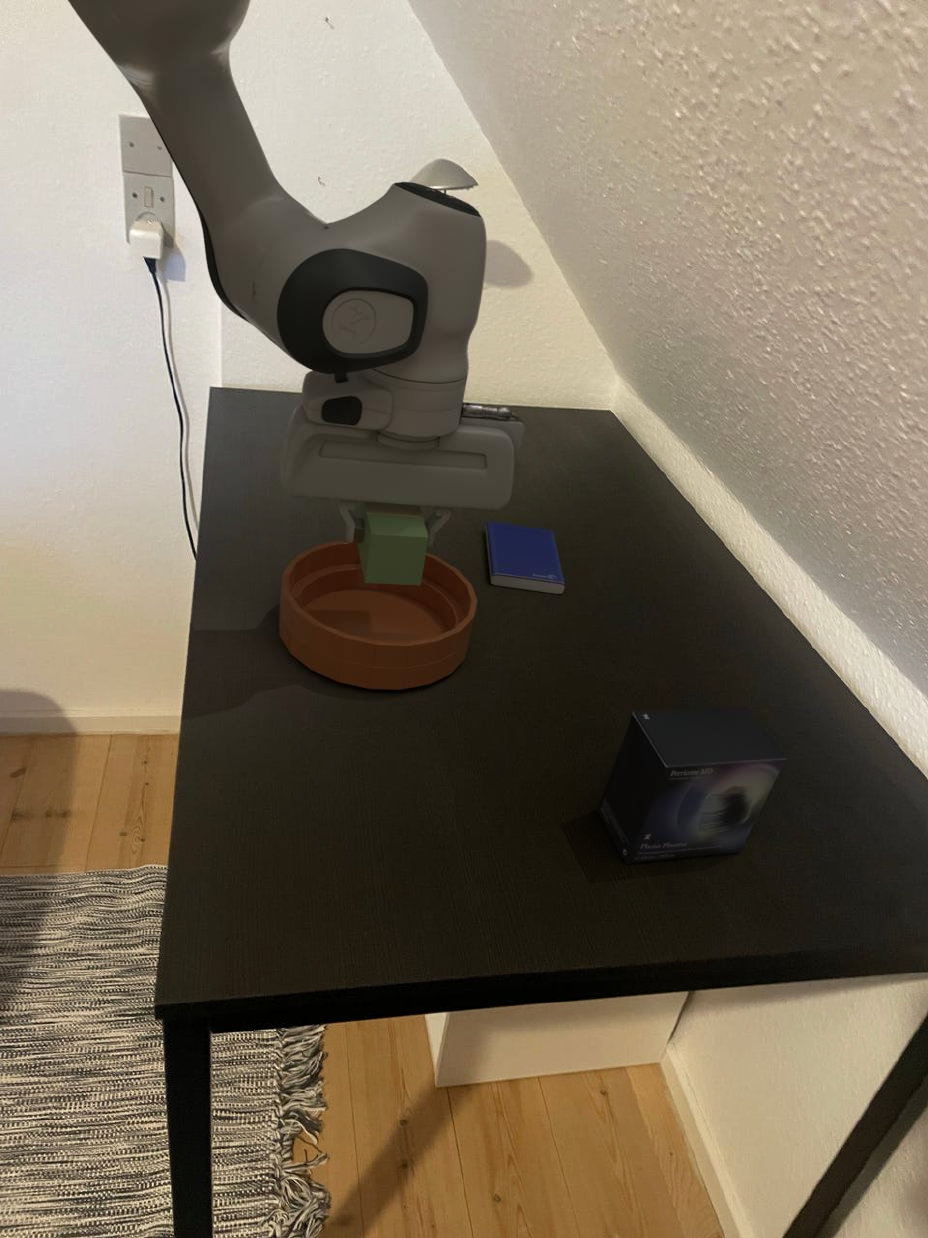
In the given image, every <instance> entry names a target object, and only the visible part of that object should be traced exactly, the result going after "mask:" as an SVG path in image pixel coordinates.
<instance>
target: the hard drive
mask: <svg viewBox="0 0 928 1238" xmlns="http://www.w3.org/2000/svg"><path fill="white" fill-rule="evenodd" d="M485 539H486V549H487V559H488V569H489V578H490V584H491V585H493V586H498V587H505V588H511V589H512V588H513V589H519V590H527V591H534V592H541V593H548V594H555V595H561V594H564V591H565V587H566V581H565V579H564V578H565V577H564V574H563V569H562V564H561V561H560V556H559V552H558V547H557V543H556V540H555V533H554V531H552V530H550V529H545V528H538V527H533V526H532V527H531V526H525V525H519V524H511V523H504V522H497V521H487V522H486V526H485Z"/></svg>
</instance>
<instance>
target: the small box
mask: <svg viewBox="0 0 928 1238" xmlns="http://www.w3.org/2000/svg"><path fill="white" fill-rule="evenodd" d="M786 761H787V757H786V755H785V754H784V752H783V751H782V750H781V748H780V747H779V745H778V744H777V743H776V742H775V740H774V739H773V738H772V737H771V735H770V734H769V733H768V732H767V730H766V729H765V728H764V726H763V725H762V723H760V721H759V719H757V717H756V716H755V715H754V713H753V712H752V711H751V709H750V708H749V707H748V706H747V705H744V706H729V707H728V706H725V707H724V706H723V707H704V708H703V707H702V708H682V709H661V710H660V709H657V710H635V711H632V712H631V714H630V718H629V722H628V725H627V728H626V731H625V733H624V736H623V738H622V741H621V743H620V747H619V750H618V752H617V755H616V757H615V760H614V763H613V766H612V768H611V771H610V773H609V776H608V779H607V782H606V785H605V788H604V790H603V792H602V793H601V794H602V795H601V797H600V800H598V801H599V802H598V804H597V806H596V808H595V809H596V810H597V813H598V815H599V816H600V818H601V819H602V822H603V823H604V824H605V827H606V829H607V830H608V833H609V835H610V836H611V838H612V840H613V842H614V844H615V848H616V849H617V851H618V852H619V854H620V856H621V858H622V860H623V861H624V863H625V864H628V865H631V864H641V863H651V862H660V861H669V860H671V861H672V860H681V859H690V858H700V857H701V858H702V857H710V856H711V857H712V856H720V855H721V856H722V855H731V854H740V853H741V851H742V849H743V847H744V845H745V843H746V842H747V839H748V837H749V835H750V833H751V831H752V829H753V827H754V825H755V823H756V820H757V818H758V817H759V814H760V813H761V811H762V808H763V807H764V804H765V803H766V800H767V799H768V796H769V794H770V792H771V791H772V789H773V787H774V785H775V784H776V783H775V782H776V780H777V778H778V777H779V775H780V772H781V771H782V768H783V767H784V765H785V762H786Z"/></svg>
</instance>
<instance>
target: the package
mask: <svg viewBox="0 0 928 1238" xmlns="http://www.w3.org/2000/svg"><path fill="white" fill-rule="evenodd" d="M356 518H361V519H363V521H364V526H365V532H364V536H363V537H364V540H363V543H357V544H358V549H359V554H360V560H361V565H362V571H363V576H364V581H365V583H375V584H396V585H417V586H420V585H421V579H422V574H423V568H424V562H425V556H426V553H427V551H428V547H427V545H428V539H429V537H428V533H427V530H426V527H425V524H424V523H425V520H424V513H423V511H422V508H421V506H419V505H405V504H391V503H376V502H362V501H358V509H357V517H356Z"/></svg>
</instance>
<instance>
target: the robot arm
mask: <svg viewBox="0 0 928 1238" xmlns="http://www.w3.org/2000/svg"><path fill="white" fill-rule="evenodd" d="M67 1H68V4H70V6H71V7H72V9H73V10H74V12H75V14H76V15H77V17H78V18H79V19H80V21H81V22H82V23H83V24H84V26H85V27H86V29H87V30H88V31H89V33H90V34H91V35H92V37H93V38H94V40H96V42H97V43H98V44H99V46H100V47H101V48H102V50H103V51H104V53H106V55H107V56H108V57H109V59H110V60H111V62H113V64H114V65H115V67H116V68H117V69H118V71H119V72H120V73H121V75H122V76H123V77H124V79H125V80H126V81H127V83H128V84H129V86H131V88H132V90H133V91H134V92H135V94H136V95H137V97H138V98H139V100H140V102H141V104H142V105H143V107H144V109H145V110H146V113H147V114H148V116H149V118H150V120H151V122H152V124H153V126H154V128H155V129H156V131H157V134H158V135H159V137H160V139H161V141H162V143H163V145H164V147H165V149H166V151H167V153H168V154H169V157H170V158H171V161H172V163H173V165H174V166H175V168H176V171H177V172H178V174H179V176H180V178H181V180H182V182H183V184H184V185H185V188H186V189H187V191H188V194H189V196H190V198H191V199H192V202H193V204H194V206H195V209H196V212H197V215H198V217H199V221H200V225H201V230H202V235H203V236H202V237H203V245H204V253H205V261H206V266H207V267H206V268H207V272H208V277H209V279H210V282H211V285H212V288H213V289H214V291H215V293H216V296H217V297H218V299H220V301H221V303H222V304H223V305H224V306H226V308H227V309H228V310H229V311H231V312H232V313H233V314H235V315H236V316H237V317H239V318H240V319H242V320H243V321H245V322H247V323H248V324H250V325H252V326H253V327H254V328H256V329H257V330H258V331H259V332H260V333H261V334H262V335H263V336H264V337H266V338H267V339H268V340H269V341H270V342H271V343H273V344H274V345H275V346H276V347H277V348H279V349H280V350H281V351H283V352H284V354H286V355H287V356H288V357H289V358H290V359H292V360H293V361H295V362H296V363H297V364H299V365H302V366H303V367H305V368H306V369H309V370H310V371H308V372H307V373H306V374H305V375H304V377H303V381H302V388H301V400H302V401H301V403H299V404H298V405H297V406H296V408H295V409H294V410H293V411H292V413H291V415H290V418H289V420H288V421H289V422H288V425H287V428H286V432H285V436H284V441H283V444H282V445H283V446H282V451H281V459H280V470H279V476H280V477H279V480H280V481H279V482H280V486H281V487H282V489H283V490H284V491H285V493H286V494H287V495H288V496H289V497H292V498H306V499H318V500H319V499H320V500H333V501H334V500H335V501H337V505H338V511H339V512H340V514H341V516H342V519H343V520H344V522H345V524H346V529H345V538H346V540H347V543H363V540H364V537H363V536H364V532H365V526H364V521H363V519H361V518H357V517H355V515H354V513H353V511H355V510H356V505H357V502H359V501H362V502H376V503H391V504H405V505H419V507H421V506H422V507H432V508H433V512H432V513H431V515H430V516H429V517H428V518H427V520H426V521H425V522H424V524H425V527H426V530H427V533H428V537H429V539H428V545H427V548H433V547H434V542H435V536H436V533H438V531H440V530H441V529H442V528H443V526H445V524H446V523H447V522H448V521H449V520H450V519H451V517H452V513H453V512H452V511H453V509H465V510H476V511H477V510H479V511H492V512H497V511H498V512H499V511H501V510H502V509H504V507H506V506H507V505H508V504H509V503H510V501H511V498H512V492H513V485H514V475H515V454H517V453H518V452H519V450H520V449H521V446H522V443H523V438H524V434H525V423H524V420H523V419H522V417H521V416H520V415H519V414H517V413H516V412H515V411H514V412H513V410H512V408H510V407H508V406H504V405H503V406H502V405H495V406H491V405H485V404H481V403H474V402H464V398H465V393H466V386H467V382H468V381H467V380H468V376H469V368H470V363H469V362H470V361H469V351H468V350H469V342H470V339H471V336H472V334H473V331H474V330H475V328H476V325H477V322H478V319H479V314H480V308H481V303H482V297H483V291H484V283H485V278H486V277H485V276H486V266H487V255H488V254H487V252H488V250H487V249H488V239H487V237H488V236H487V227H486V223H485V220H484V217H483V216H482V215H481V214H480V211H479V210H478V209H476V208H475V207H474V206H473V205H471V204H470V203H468V202H467V201H464V200H462V199H459V198H457V197H456V196H453V195H450V194H448V193H445V192H443V191H441V190H438V189H435V188H434V187H430V186H427V185H424V184H420V183H417V182H412V181H399V182H393V183H392V184H391V185H390V186H389V188H388V190H386V192H385V193H383V195H382V196H381V197H379V198H378V199H377V200H375V201H374V202H372V203H371V204H369V205H368V206H366V207H365V208H363V209H361V210H359V211H357V212H355V213H353V214H351V215H349V216H346V217H344V218H341V219H338V220H336V221H332V222H326V221H325V220H323V219H322V218H319V217H318V216H316V215H315V214H314V213H312V212H311V211H310V210H309V209H308V208H307V207H305V206H304V205H303V204H302V203H300V202H299V201H298V200H297V199H295V198H294V197H293V196H292V195H291V194H290V193H288V191H286V189H285V188H284V187H283V186H282V185H281V183H280V182H279V181H278V179H277V178H276V176H275V175H274V173H273V170H272V169H271V166H270V164H269V163H270V162H269V161H268V159H267V157H266V154H265V152H264V150H263V147H262V145H261V142H260V140H259V138H258V135H257V133H256V131H255V129H254V127H253V124H252V121H251V119H250V117H249V114H248V112H247V109H246V108H245V105H244V103H243V100H242V98H241V96H240V93H239V91H238V89H237V86H236V84H235V81H234V77H233V73H232V68H231V62H230V49H231V44H232V41H233V40H234V39H235V37H236V35H237V34H238V32H239V31H240V29H241V27H242V25H243V23H244V21H245V18H246V16H247V14H248V11H249V7H250V4H251V0H67Z"/></svg>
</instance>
